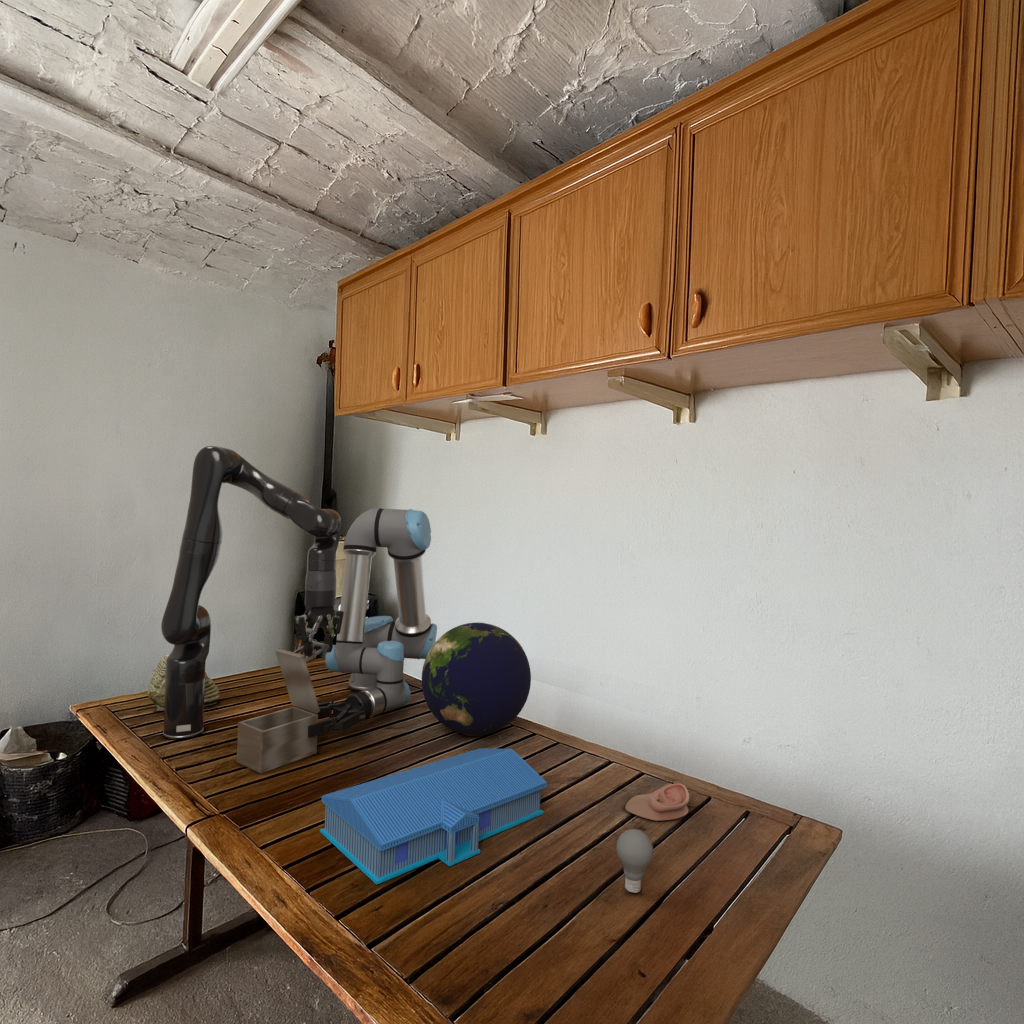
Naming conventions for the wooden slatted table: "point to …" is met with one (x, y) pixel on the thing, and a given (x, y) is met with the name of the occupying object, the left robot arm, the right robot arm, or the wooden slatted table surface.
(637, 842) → the light bulb
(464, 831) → the model building
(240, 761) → the chest
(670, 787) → the anatomical model
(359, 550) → the right robot arm
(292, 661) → the grey piece
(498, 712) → the globe
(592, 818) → the wooden slatted table surface
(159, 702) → the fossil
